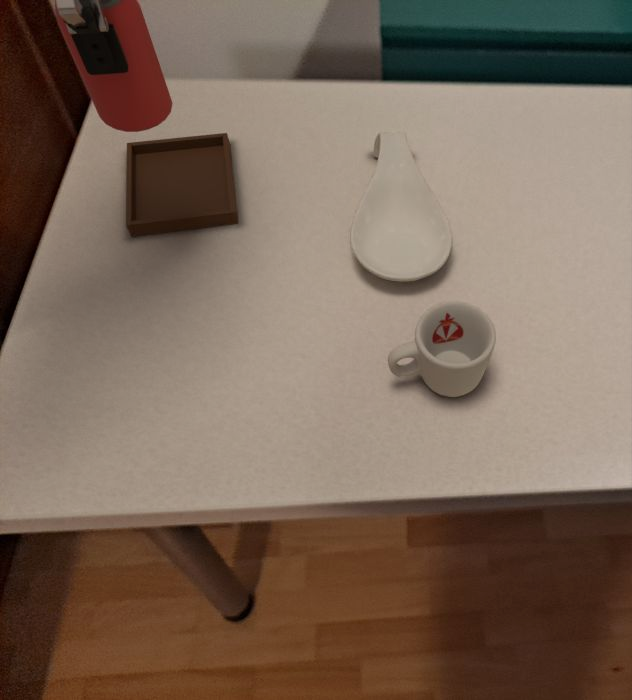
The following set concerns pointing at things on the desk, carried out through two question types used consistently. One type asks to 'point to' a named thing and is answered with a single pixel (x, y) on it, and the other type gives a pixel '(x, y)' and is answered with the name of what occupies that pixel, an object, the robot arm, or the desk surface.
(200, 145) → the tray
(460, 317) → the cup
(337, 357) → the desk surface
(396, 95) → the desk surface
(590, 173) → the desk surface
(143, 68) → the beer can
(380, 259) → the spoon rest
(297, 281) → the desk surface
